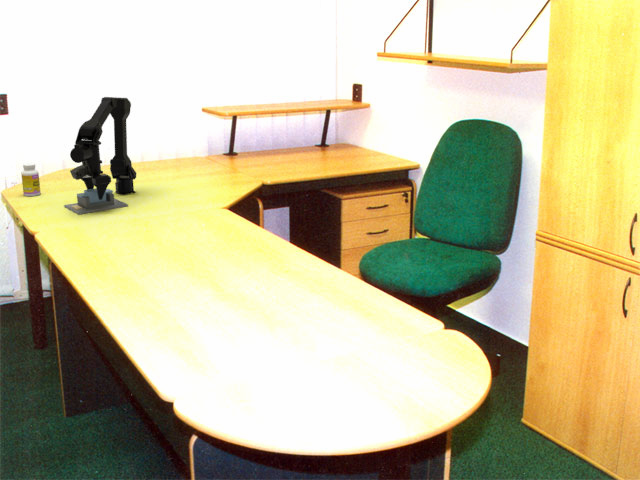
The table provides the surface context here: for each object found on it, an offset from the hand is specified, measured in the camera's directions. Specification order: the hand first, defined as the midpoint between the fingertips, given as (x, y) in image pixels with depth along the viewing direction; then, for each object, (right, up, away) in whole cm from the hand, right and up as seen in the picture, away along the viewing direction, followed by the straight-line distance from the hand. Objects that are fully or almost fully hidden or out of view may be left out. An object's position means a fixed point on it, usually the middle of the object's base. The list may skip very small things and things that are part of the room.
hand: (95, 197), depth 279 cm
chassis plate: (0, -4, +1) cm, 4 cm away
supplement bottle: (-32, +2, +18) cm, 37 cm away
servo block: (0, -3, +1) cm, 3 cm away
